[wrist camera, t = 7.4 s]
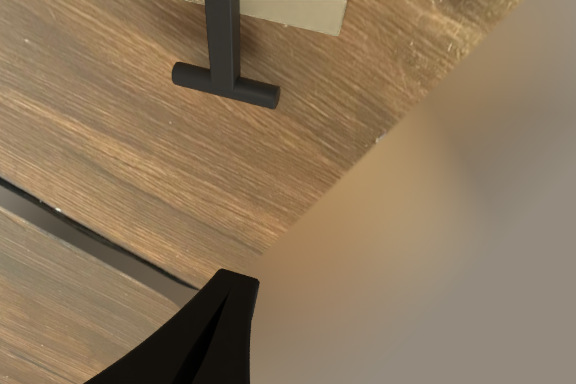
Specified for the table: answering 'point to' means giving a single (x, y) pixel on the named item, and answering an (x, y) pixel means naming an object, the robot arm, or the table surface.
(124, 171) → the table surface
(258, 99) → the lever
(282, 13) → the bracket
